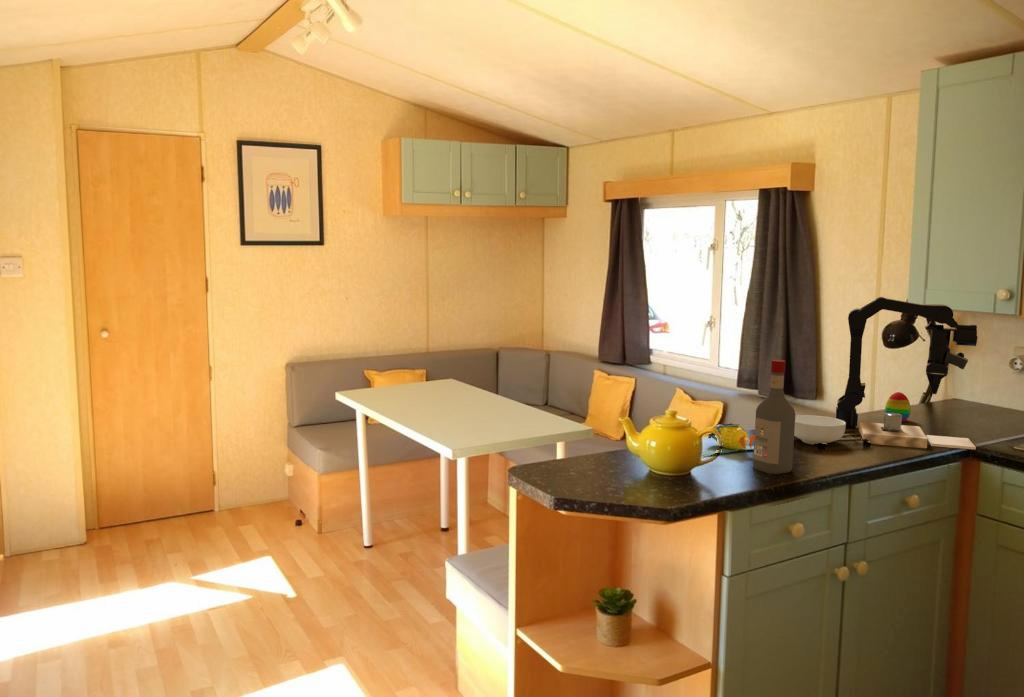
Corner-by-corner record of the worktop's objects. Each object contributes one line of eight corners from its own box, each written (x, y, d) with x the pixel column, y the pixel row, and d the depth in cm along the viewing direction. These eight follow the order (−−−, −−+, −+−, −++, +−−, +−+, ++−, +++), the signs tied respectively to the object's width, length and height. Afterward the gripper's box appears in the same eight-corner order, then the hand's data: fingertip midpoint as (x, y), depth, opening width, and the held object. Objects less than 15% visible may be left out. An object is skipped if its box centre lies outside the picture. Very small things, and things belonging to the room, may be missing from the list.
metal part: (883, 440, 269) (885, 415, 268) (881, 436, 274) (883, 412, 273) (900, 441, 267) (902, 416, 266) (898, 438, 272) (900, 413, 271)
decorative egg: (915, 422, 296) (917, 394, 295) (894, 423, 294) (896, 394, 293) (899, 417, 304) (901, 389, 303) (879, 418, 302) (881, 390, 301)
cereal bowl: (856, 444, 262) (857, 422, 262) (820, 451, 254) (821, 428, 253) (810, 433, 277) (812, 412, 276) (775, 439, 268) (776, 417, 267)
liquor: (772, 475, 227) (778, 364, 223) (747, 467, 235) (753, 359, 231) (797, 471, 231) (803, 362, 227) (771, 463, 239) (778, 357, 235)
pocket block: (862, 443, 265) (863, 433, 264) (858, 430, 282) (859, 421, 281) (926, 448, 259) (927, 438, 259) (918, 435, 276) (919, 426, 276)
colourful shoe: (710, 432, 240) (678, 422, 254) (709, 462, 241) (677, 450, 255) (787, 424, 252) (752, 415, 266) (785, 453, 253) (751, 442, 267)
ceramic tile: (931, 446, 262) (932, 443, 262) (926, 437, 274) (926, 434, 274) (975, 449, 259) (975, 447, 259) (967, 440, 270) (968, 438, 270)
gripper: (968, 349, 262) (963, 399, 264) (967, 343, 279) (962, 390, 281) (928, 346, 267) (923, 395, 269) (929, 340, 284) (925, 386, 286)
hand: (934, 391), depth 276 cm, fingers open, 9 cm apart
